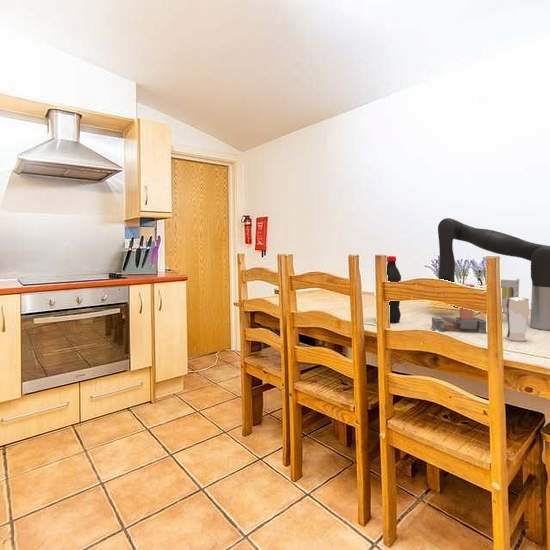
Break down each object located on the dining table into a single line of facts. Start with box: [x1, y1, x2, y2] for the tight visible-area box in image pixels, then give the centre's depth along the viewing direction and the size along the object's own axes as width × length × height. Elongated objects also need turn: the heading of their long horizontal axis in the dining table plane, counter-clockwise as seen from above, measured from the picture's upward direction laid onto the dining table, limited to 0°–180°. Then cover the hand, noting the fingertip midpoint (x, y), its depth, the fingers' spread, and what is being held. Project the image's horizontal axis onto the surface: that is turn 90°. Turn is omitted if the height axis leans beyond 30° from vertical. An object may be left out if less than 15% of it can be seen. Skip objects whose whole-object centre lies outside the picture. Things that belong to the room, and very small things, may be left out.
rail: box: [431, 316, 487, 334], centre depth 144 cm, size 19×7×5 cm, turn 79°
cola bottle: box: [386, 255, 402, 324], centre depth 162 cm, size 8×8×30 cm
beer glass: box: [505, 296, 530, 342], centre depth 130 cm, size 7×7×15 cm
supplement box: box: [500, 277, 520, 314], centre depth 178 cm, size 10×9×17 cm
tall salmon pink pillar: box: [455, 283, 477, 329], centre depth 143 cm, size 6×6×17 cm
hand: (469, 304), depth 140 cm, fingers closed on tall salmon pink pillar, 4 cm apart
